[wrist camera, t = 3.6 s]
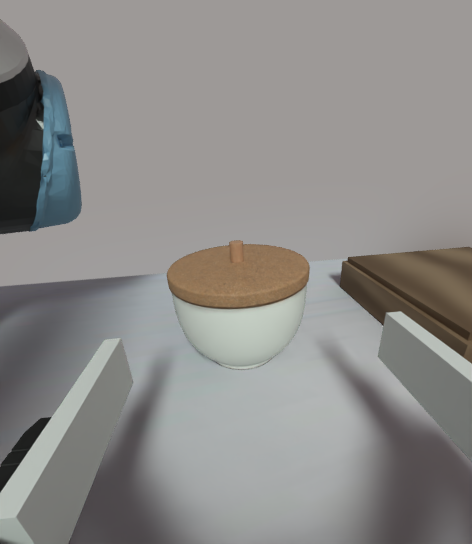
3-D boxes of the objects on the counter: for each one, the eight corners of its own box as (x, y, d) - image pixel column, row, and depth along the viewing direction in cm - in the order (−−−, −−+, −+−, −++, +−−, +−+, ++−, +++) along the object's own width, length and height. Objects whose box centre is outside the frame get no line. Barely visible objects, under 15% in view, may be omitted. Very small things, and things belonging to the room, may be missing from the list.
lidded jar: (246, 302, 29) (242, 222, 25) (330, 344, 21) (341, 237, 18) (160, 344, 23) (139, 245, 19) (235, 425, 15) (222, 284, 11)
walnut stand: (453, 386, 16) (470, 337, 15) (339, 286, 31) (343, 256, 30) (670, 362, 17) (707, 312, 16) (459, 275, 32) (468, 245, 30)
